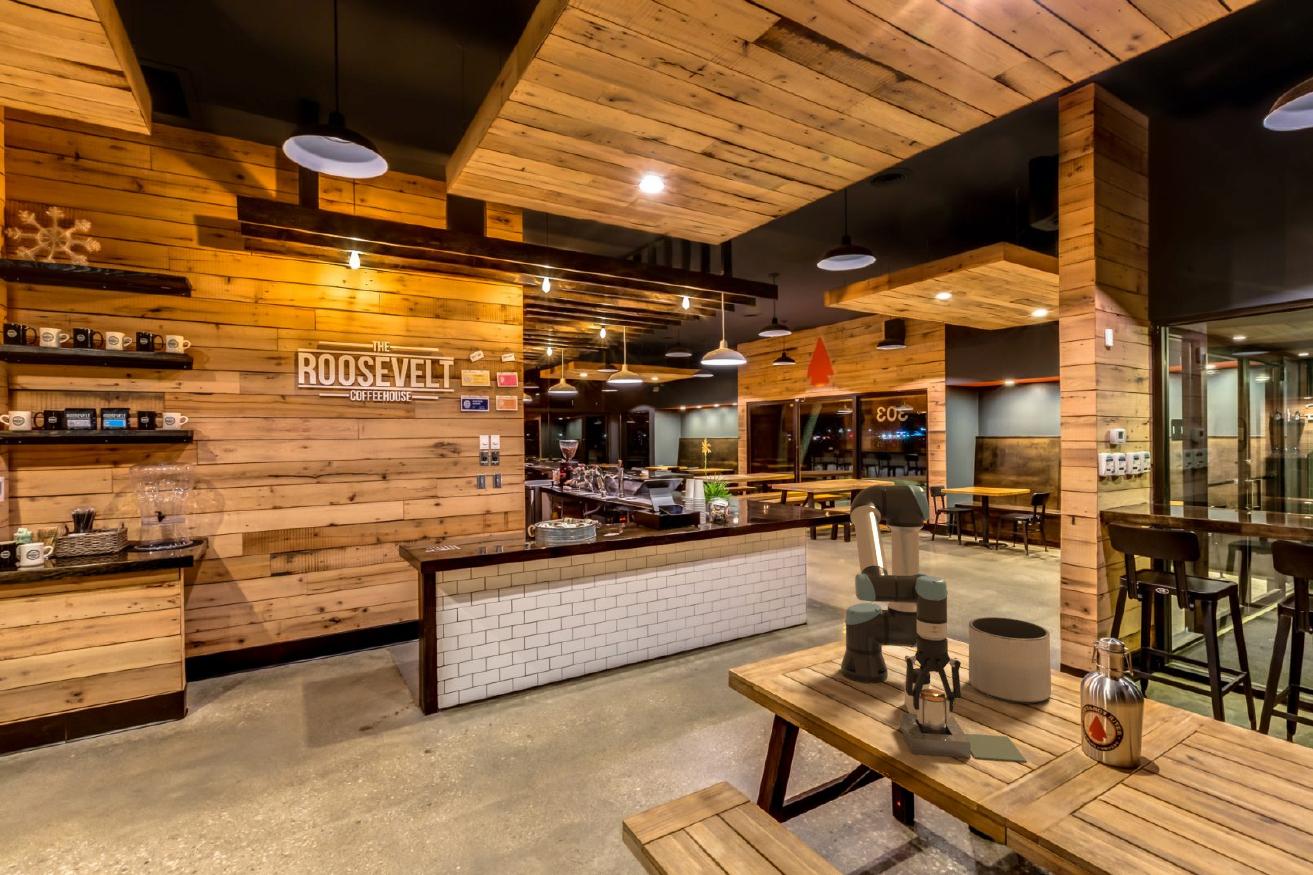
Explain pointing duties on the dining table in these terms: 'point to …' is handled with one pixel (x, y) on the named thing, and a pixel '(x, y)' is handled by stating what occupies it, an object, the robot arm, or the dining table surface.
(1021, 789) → the dining table surface
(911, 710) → the medicine bottle
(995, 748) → the mat
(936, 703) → the glass jar
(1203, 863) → the dining table surface
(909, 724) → the housing
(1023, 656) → the planter
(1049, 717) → the dining table surface
